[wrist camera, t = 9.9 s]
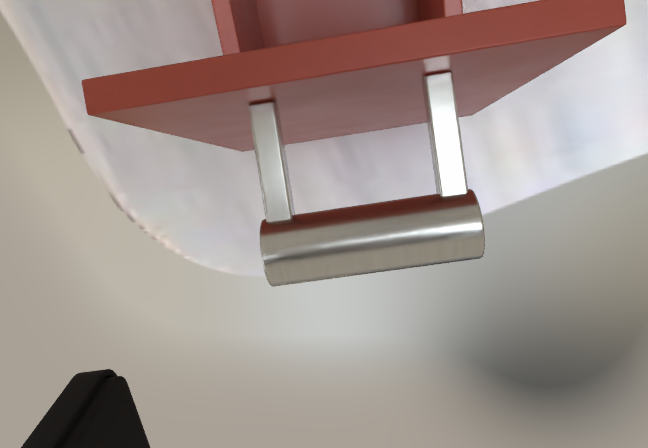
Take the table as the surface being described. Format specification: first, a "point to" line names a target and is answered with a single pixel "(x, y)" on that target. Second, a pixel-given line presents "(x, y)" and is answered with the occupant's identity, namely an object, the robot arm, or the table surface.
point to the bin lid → (360, 121)
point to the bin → (315, 19)
